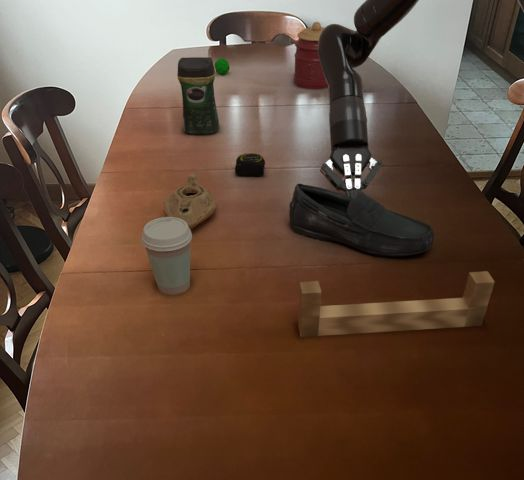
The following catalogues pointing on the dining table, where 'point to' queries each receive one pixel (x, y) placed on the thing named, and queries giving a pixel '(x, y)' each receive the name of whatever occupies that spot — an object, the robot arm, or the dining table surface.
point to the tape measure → (250, 165)
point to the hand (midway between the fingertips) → (353, 209)
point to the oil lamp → (190, 202)
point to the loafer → (356, 223)
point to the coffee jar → (198, 95)
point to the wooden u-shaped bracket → (393, 311)
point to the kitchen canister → (309, 59)
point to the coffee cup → (169, 253)
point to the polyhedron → (222, 66)
